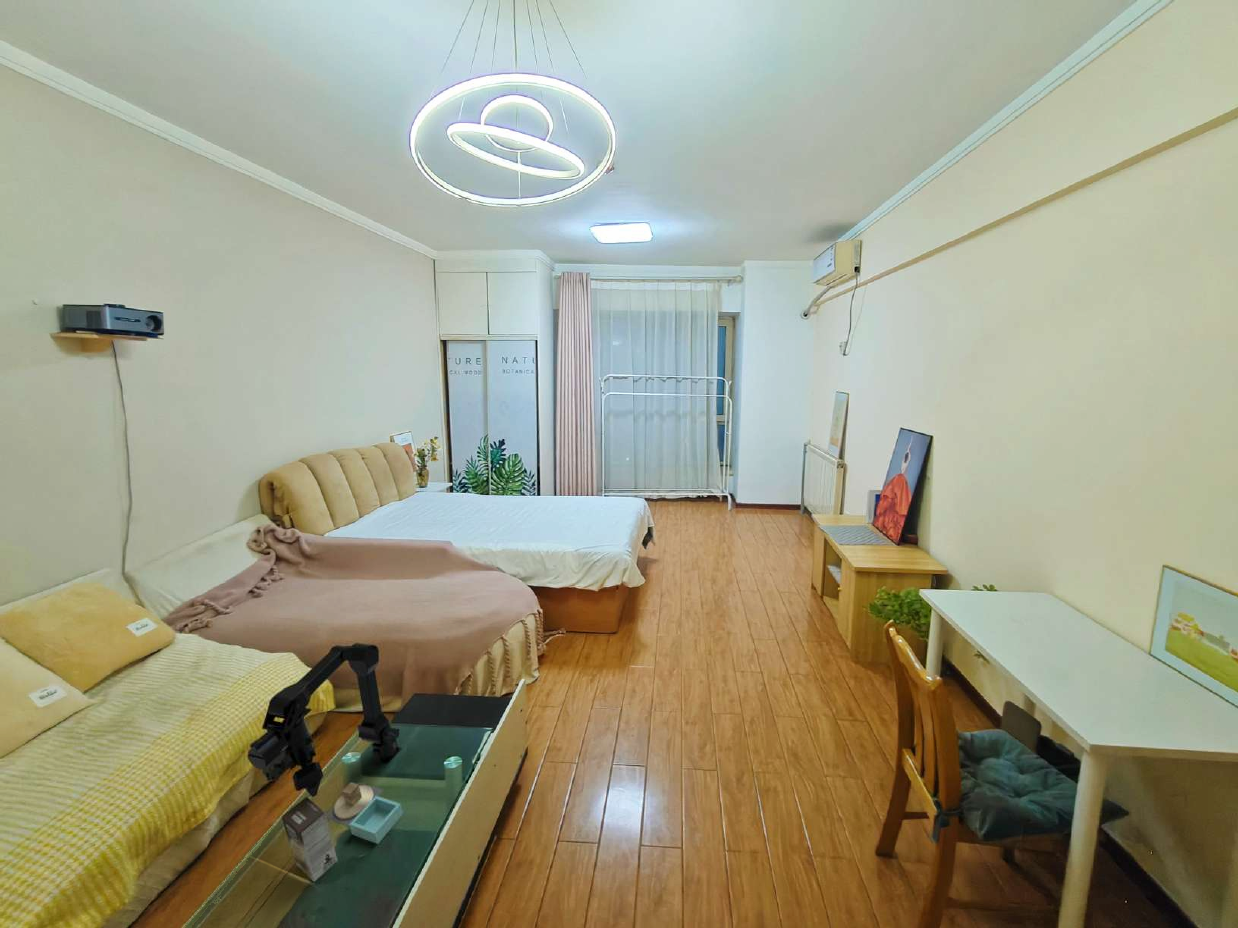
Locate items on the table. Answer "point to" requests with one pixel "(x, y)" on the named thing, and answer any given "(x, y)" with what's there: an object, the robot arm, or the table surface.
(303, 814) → the coffee box
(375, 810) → the open box
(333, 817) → the mat
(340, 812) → the lid
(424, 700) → the table surface
